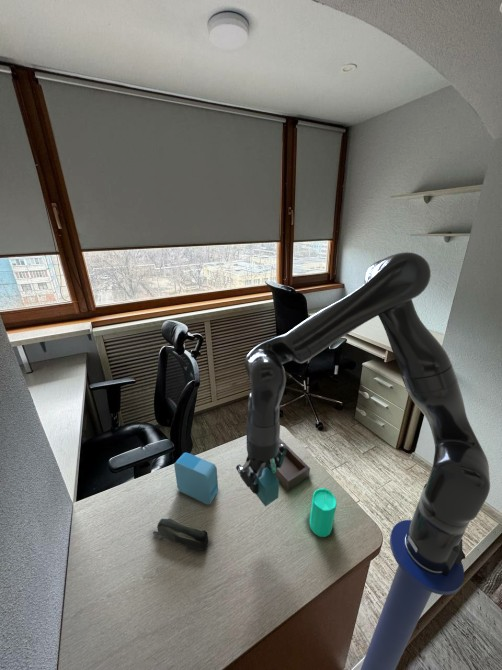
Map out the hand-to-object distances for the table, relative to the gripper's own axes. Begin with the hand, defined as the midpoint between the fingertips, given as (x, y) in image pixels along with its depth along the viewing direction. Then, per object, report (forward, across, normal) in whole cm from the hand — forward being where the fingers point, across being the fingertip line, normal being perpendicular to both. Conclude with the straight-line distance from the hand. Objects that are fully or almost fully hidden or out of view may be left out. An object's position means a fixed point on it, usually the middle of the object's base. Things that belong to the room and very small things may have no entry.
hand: (262, 486), depth 67 cm
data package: (+15, +10, -19) cm, 26 cm away
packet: (+1, 0, 0) cm, 1 cm away
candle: (+15, -13, +9) cm, 22 cm away
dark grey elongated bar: (+15, +19, -9) cm, 26 cm away
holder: (+15, -18, -13) cm, 26 cm away
